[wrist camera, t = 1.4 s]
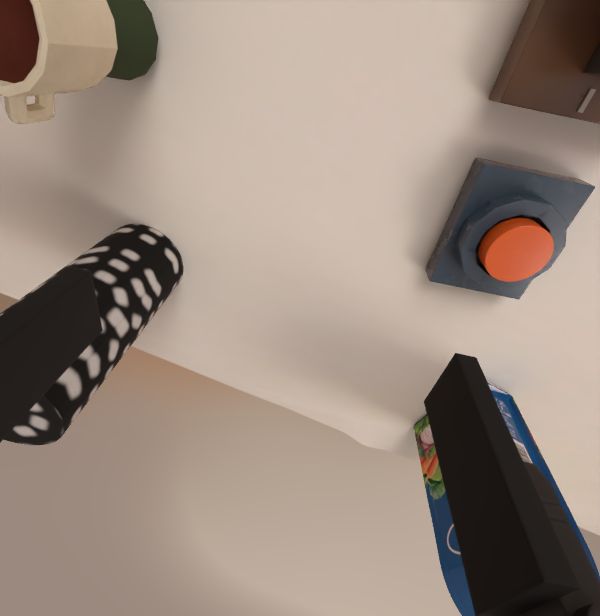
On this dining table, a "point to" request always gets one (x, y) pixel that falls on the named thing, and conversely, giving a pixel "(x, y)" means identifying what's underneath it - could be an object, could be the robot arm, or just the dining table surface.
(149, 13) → the cream and green cup
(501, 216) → the button box
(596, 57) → the red-cornered grey panel
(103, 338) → the spotted tube
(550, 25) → the dial panel
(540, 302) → the dining table surface
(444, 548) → the blue food package
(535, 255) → the button
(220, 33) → the dining table surface
